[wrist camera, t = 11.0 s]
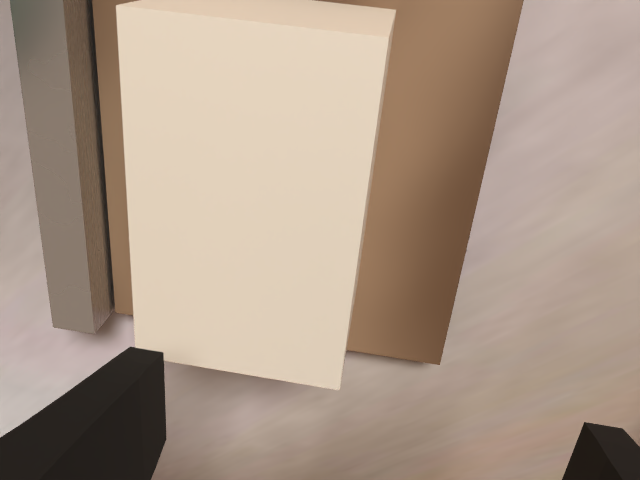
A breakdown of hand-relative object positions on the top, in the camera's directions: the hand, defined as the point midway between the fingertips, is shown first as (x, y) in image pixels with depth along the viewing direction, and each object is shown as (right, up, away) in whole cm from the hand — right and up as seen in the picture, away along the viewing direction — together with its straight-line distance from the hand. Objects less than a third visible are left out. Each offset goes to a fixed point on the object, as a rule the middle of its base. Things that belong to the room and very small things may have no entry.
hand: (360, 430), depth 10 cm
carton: (-2, +6, +7) cm, 9 cm away
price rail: (-8, +7, +8) cm, 13 cm away
